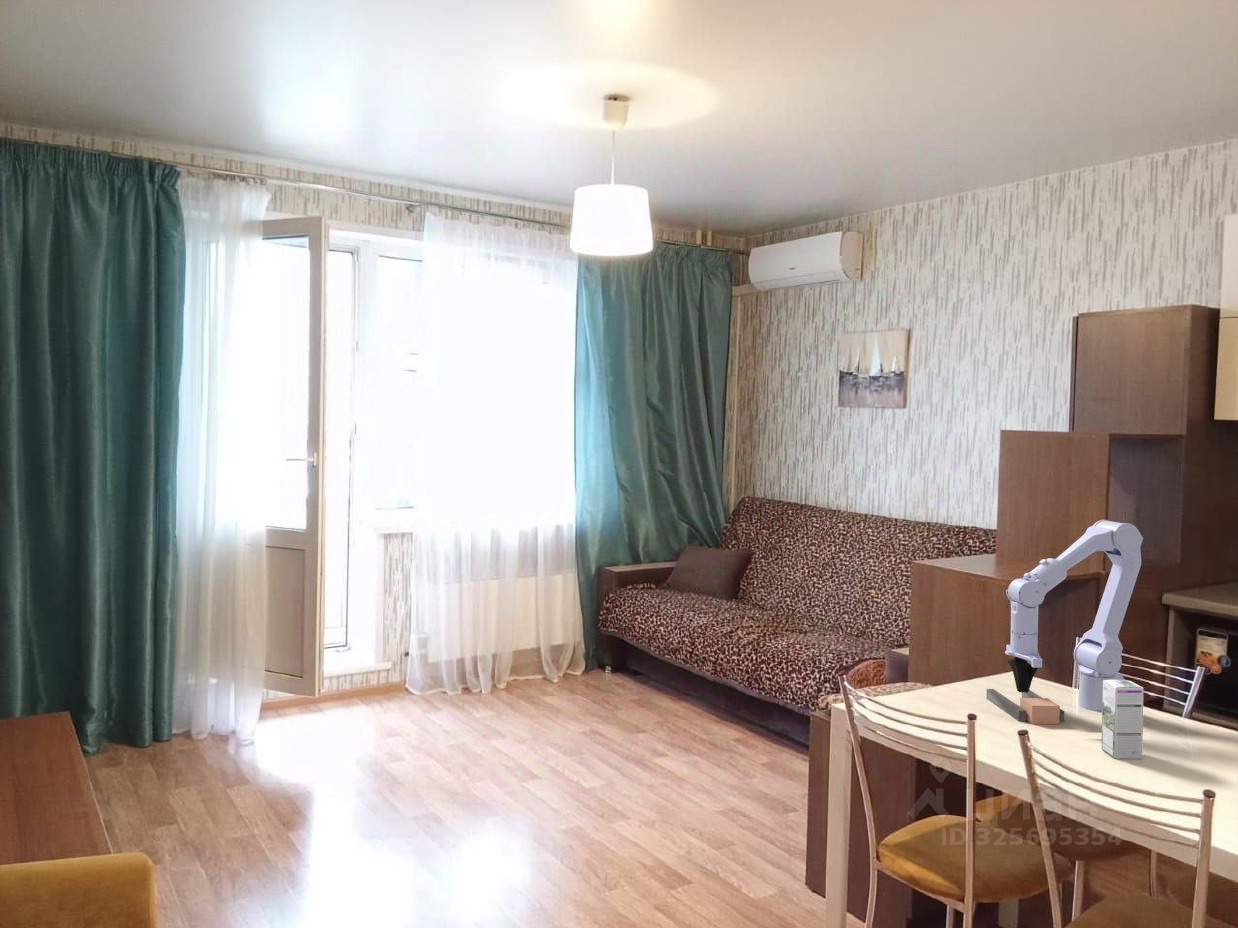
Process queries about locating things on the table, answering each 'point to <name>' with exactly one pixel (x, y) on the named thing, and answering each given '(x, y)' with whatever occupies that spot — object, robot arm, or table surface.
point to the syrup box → (1122, 719)
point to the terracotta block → (1040, 710)
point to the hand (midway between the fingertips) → (1022, 691)
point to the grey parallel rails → (1013, 708)
